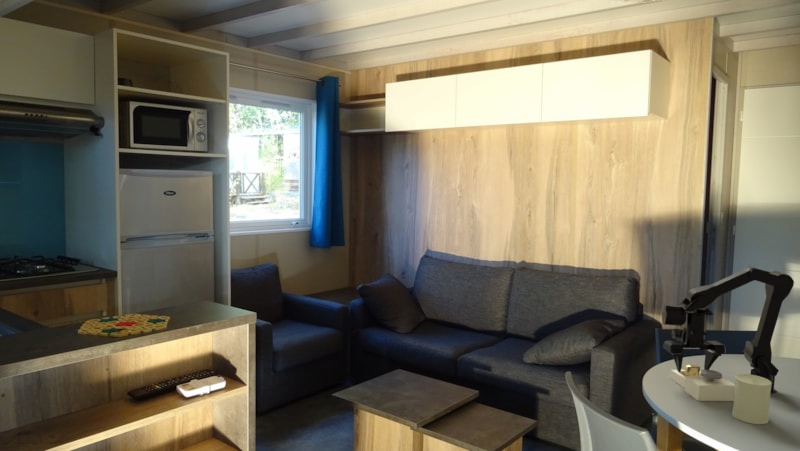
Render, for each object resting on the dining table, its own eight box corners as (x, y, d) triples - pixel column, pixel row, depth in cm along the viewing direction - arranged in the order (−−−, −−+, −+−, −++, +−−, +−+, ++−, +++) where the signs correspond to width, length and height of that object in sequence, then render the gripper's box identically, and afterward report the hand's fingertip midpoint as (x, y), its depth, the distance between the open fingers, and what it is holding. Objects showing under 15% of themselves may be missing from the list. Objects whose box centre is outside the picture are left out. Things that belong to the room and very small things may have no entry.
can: (734, 420, 169) (737, 380, 168) (730, 408, 178) (733, 370, 176) (771, 426, 166) (775, 385, 165) (765, 414, 174) (768, 375, 173)
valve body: (700, 378, 204) (702, 356, 203) (735, 401, 184) (737, 377, 183) (666, 377, 203) (668, 356, 202) (697, 400, 183) (699, 377, 183)
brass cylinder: (701, 385, 196) (702, 368, 196) (688, 385, 196) (689, 368, 196) (694, 380, 201) (695, 363, 200) (681, 380, 201) (683, 363, 200)
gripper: (709, 320, 205) (706, 363, 206) (656, 320, 204) (654, 363, 206) (728, 329, 194) (724, 375, 195) (672, 329, 193) (669, 374, 195)
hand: (692, 371), depth 198 cm, fingers open, 9 cm apart
